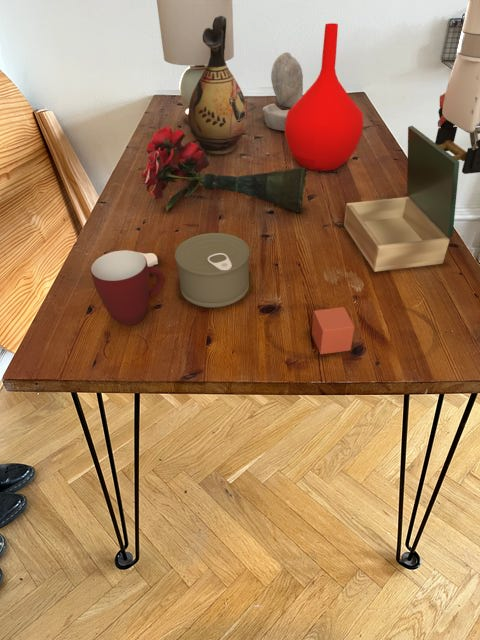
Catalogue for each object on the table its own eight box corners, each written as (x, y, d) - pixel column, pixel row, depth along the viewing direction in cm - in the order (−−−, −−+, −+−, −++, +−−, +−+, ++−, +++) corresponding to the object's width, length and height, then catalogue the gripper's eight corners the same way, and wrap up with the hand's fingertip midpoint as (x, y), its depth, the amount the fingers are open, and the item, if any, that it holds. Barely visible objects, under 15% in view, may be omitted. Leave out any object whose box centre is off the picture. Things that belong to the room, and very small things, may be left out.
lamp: (236, 129, 140) (230, -18, 117) (167, 131, 140) (148, -15, 118) (237, 108, 155) (232, -26, 132) (175, 110, 156) (160, -23, 133)
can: (230, 259, 87) (228, 226, 83) (263, 293, 79) (263, 258, 75) (168, 279, 83) (163, 244, 79) (197, 317, 75) (192, 281, 71)
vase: (268, 163, 120) (269, 25, 101) (317, 144, 129) (327, 14, 110) (323, 186, 109) (336, 36, 90) (373, 163, 118) (395, 22, 99)
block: (340, 330, 72) (344, 306, 69) (350, 350, 68) (354, 326, 66) (311, 333, 71) (313, 310, 68) (320, 354, 68) (322, 331, 65)
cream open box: (374, 271, 83) (378, 248, 80) (343, 225, 96) (346, 203, 92) (443, 263, 84) (449, 239, 81) (403, 218, 97) (408, 196, 94)
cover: (454, 163, 72) (489, 153, 72) (407, 126, 85) (437, 118, 85) (448, 238, 81) (479, 229, 81) (406, 195, 94) (433, 187, 93)
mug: (149, 289, 81) (139, 237, 75) (179, 309, 77) (171, 257, 70) (95, 318, 76) (79, 265, 69) (124, 342, 71) (110, 288, 65)
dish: (257, 122, 144) (256, 105, 141) (297, 114, 148) (298, 97, 145) (280, 137, 134) (280, 119, 131) (322, 128, 138) (324, 110, 135)
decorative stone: (299, 112, 150) (302, 59, 140) (267, 111, 152) (267, 58, 142) (305, 98, 161) (307, 47, 152) (274, 97, 163) (275, 47, 153)
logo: (128, 254, 89) (112, 279, 83) (127, 251, 89) (111, 276, 83) (161, 257, 88) (147, 282, 82) (161, 253, 88) (146, 279, 82)
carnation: (299, 238, 107) (148, 221, 111) (310, 161, 109) (162, 147, 113) (300, 212, 91) (125, 193, 95) (313, 123, 94) (142, 108, 98)
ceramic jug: (243, 160, 122) (239, 24, 103) (184, 158, 125) (170, 24, 105) (253, 136, 135) (251, 11, 116) (199, 135, 137) (189, 11, 118)
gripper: (548, 56, 64) (506, 179, 74) (478, 34, 77) (452, 141, 88) (495, 60, 63) (461, 184, 74) (434, 37, 76) (413, 145, 87)
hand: (456, 161), depth 81 cm, fingers open, 9 cm apart
